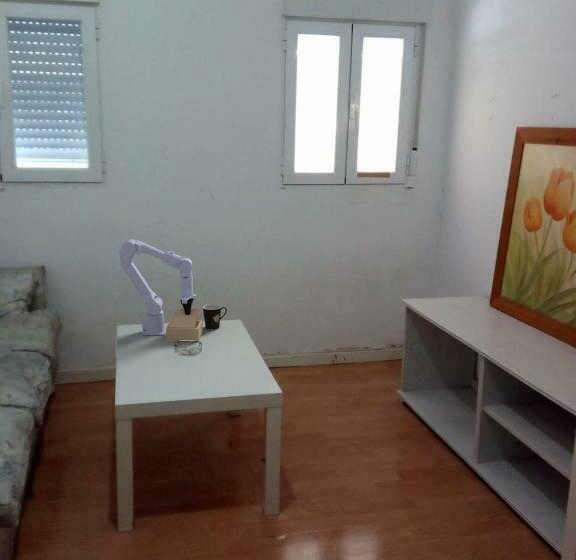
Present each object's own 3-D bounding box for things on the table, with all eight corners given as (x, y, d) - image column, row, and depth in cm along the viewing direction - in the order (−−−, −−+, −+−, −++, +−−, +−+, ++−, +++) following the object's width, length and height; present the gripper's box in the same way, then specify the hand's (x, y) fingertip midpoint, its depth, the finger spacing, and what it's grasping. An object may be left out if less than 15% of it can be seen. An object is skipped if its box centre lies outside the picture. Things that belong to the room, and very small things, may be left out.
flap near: (170, 316, 277) (170, 316, 276) (195, 317, 277) (195, 316, 276) (169, 327, 275) (169, 327, 275) (195, 327, 275) (195, 327, 274)
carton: (166, 341, 276) (166, 328, 274) (171, 332, 287) (171, 319, 286) (198, 342, 276) (198, 328, 274) (202, 332, 287) (202, 320, 286)
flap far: (199, 309, 287) (199, 309, 288) (175, 309, 287) (175, 309, 288) (198, 319, 285) (198, 319, 286) (174, 319, 285) (174, 319, 286)
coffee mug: (204, 331, 290) (203, 310, 287) (202, 325, 298) (201, 304, 295) (229, 329, 292) (229, 308, 290) (226, 323, 301) (226, 303, 298)
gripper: (192, 289, 276) (194, 319, 279) (197, 281, 290) (199, 310, 293) (176, 289, 276) (178, 319, 279) (182, 281, 290) (183, 310, 293)
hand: (187, 314), depth 286 cm, fingers closed, pressing on flap far
